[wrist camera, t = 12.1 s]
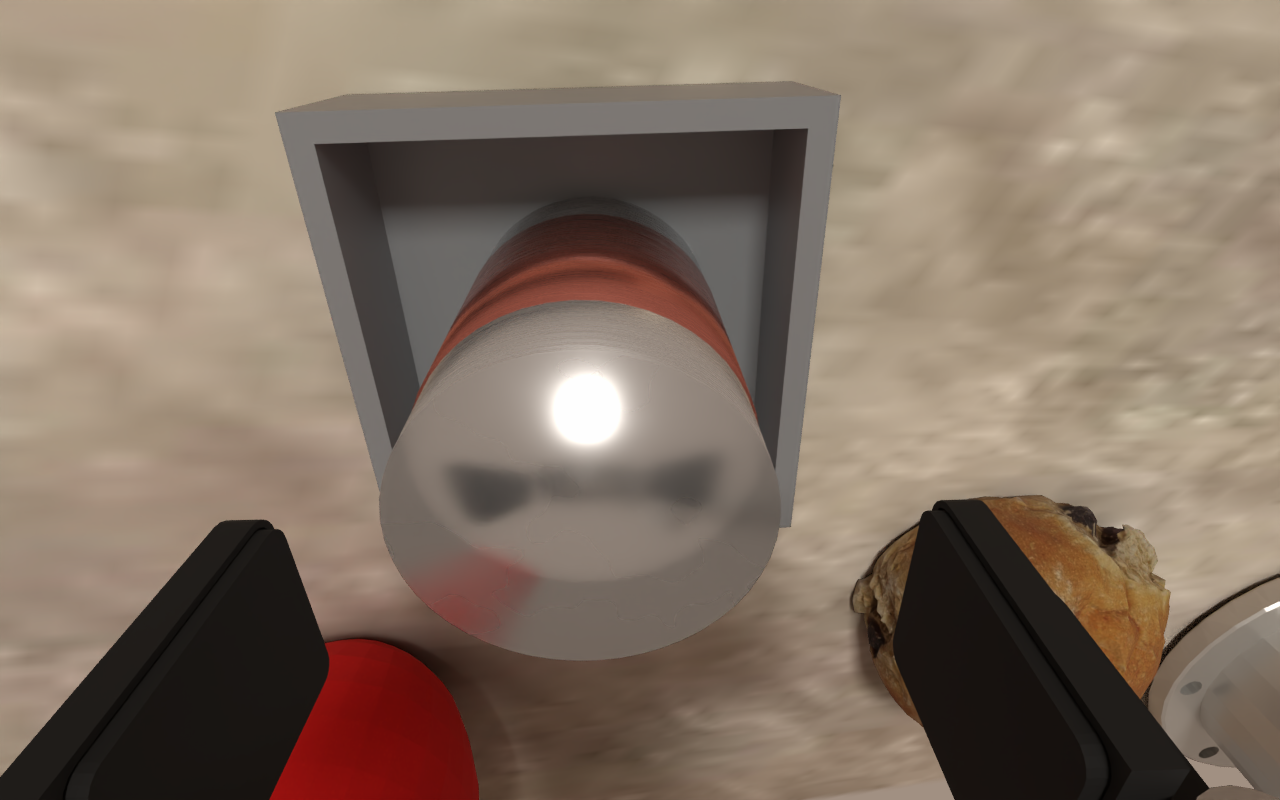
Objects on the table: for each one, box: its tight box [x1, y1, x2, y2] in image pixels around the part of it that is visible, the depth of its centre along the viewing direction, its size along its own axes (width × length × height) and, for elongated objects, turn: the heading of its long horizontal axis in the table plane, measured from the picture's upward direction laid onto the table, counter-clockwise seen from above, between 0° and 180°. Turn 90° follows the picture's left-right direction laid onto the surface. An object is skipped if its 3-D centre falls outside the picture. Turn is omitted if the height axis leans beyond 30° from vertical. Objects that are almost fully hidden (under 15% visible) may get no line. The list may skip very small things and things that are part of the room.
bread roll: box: [852, 495, 1171, 727], centre depth 24 cm, size 10×10×8 cm
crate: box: [275, 81, 841, 528], centre depth 17 cm, size 11×11×4 cm
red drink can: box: [379, 197, 781, 661], centre depth 14 cm, size 6×6×9 cm
